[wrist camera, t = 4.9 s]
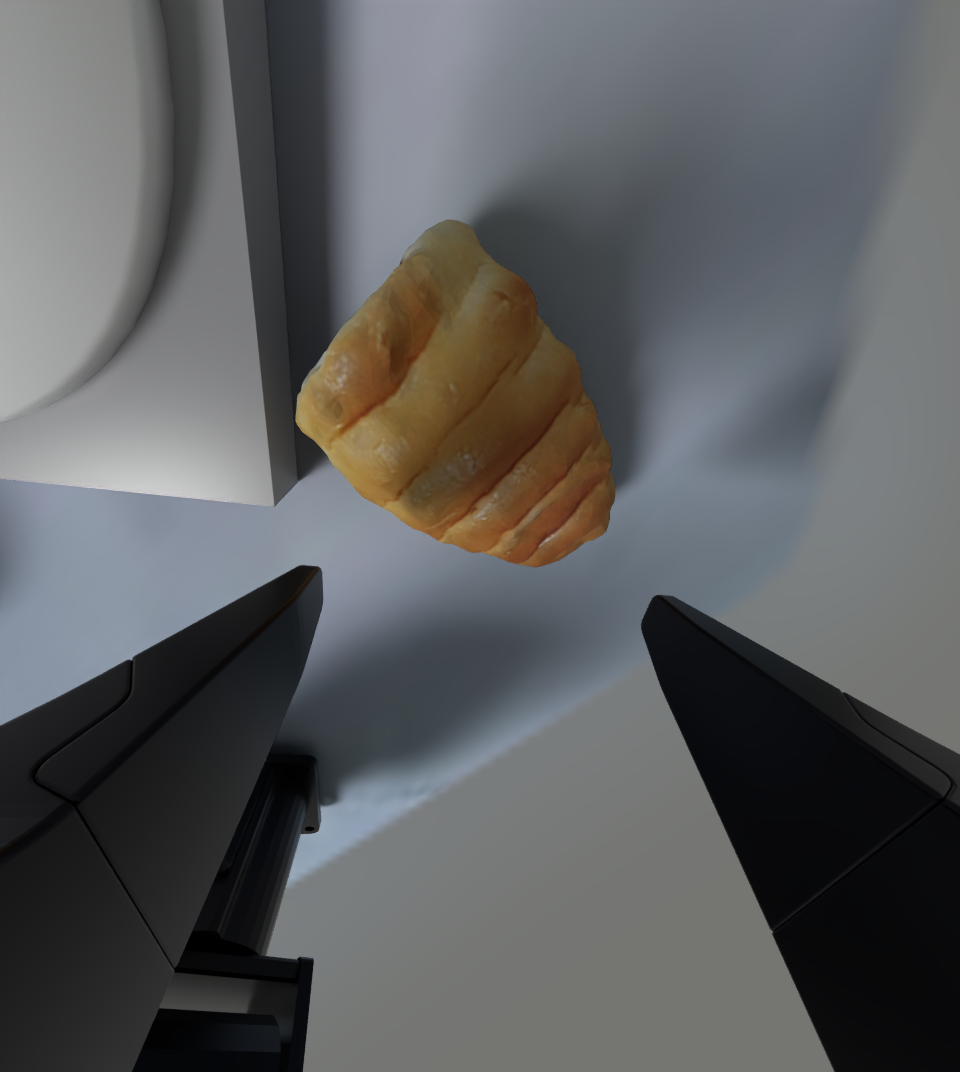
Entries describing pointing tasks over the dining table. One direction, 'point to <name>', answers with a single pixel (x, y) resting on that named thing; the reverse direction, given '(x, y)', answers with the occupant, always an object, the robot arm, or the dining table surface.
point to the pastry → (463, 408)
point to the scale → (142, 251)
